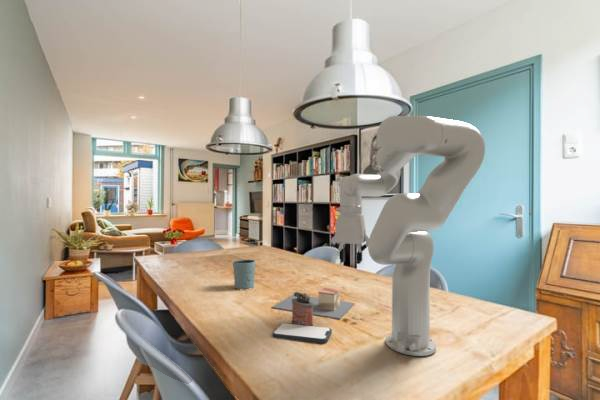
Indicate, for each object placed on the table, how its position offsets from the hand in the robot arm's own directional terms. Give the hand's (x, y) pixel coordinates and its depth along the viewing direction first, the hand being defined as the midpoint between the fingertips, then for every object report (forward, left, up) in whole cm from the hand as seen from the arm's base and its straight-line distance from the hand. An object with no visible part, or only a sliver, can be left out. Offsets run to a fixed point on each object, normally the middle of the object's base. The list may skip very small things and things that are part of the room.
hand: (350, 262), depth 110 cm
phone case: (-25, +7, -18) cm, 32 cm away
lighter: (-19, +10, -18) cm, 28 cm away
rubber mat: (0, +14, -17) cm, 22 cm away
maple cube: (0, +8, -17) cm, 19 cm away
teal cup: (+10, +53, -18) cm, 57 cm away
